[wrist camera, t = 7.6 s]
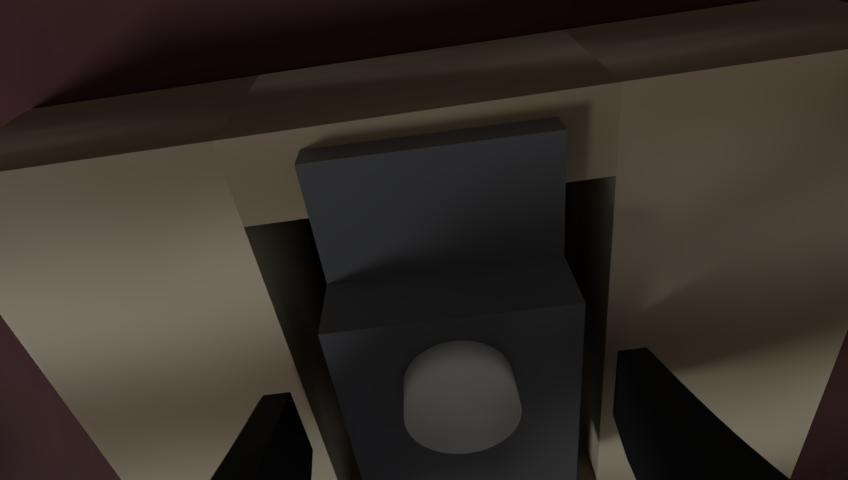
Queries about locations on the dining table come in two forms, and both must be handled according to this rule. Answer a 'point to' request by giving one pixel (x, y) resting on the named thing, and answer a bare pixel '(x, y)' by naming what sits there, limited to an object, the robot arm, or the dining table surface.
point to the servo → (450, 301)
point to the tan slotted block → (427, 113)
